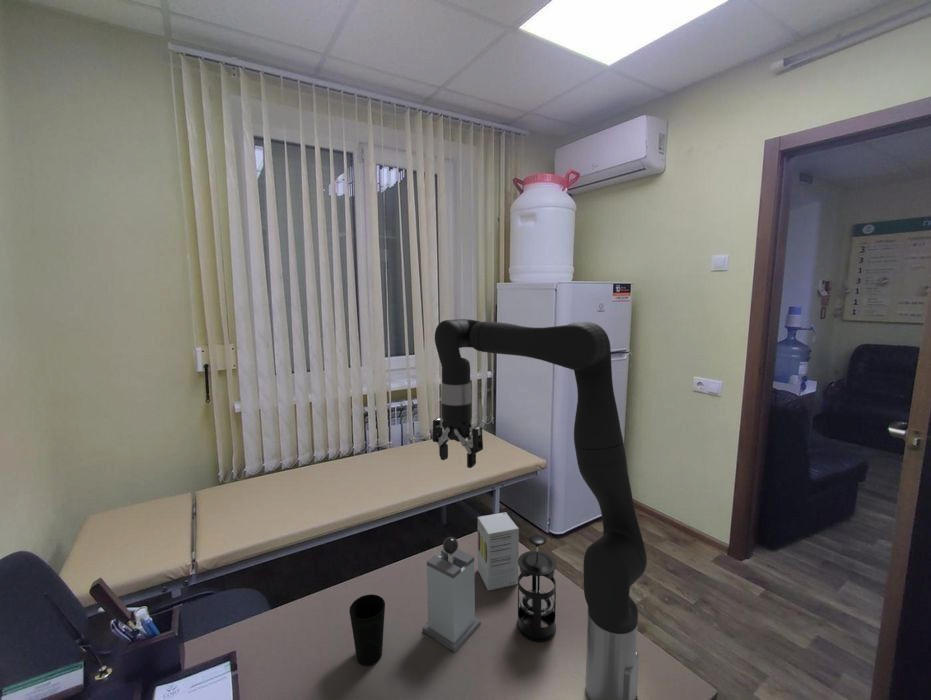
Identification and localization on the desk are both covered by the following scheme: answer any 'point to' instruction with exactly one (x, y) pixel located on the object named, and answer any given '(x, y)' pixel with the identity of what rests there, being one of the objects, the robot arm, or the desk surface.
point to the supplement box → (498, 550)
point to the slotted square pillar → (451, 599)
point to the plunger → (450, 547)
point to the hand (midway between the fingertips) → (457, 462)
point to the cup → (368, 628)
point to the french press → (536, 593)
